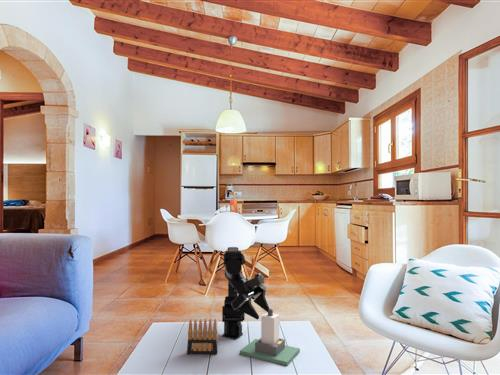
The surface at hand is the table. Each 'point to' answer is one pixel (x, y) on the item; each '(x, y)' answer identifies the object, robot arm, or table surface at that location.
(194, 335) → the ammunition clip
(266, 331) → the plug block
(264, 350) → the header board
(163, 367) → the table surface
